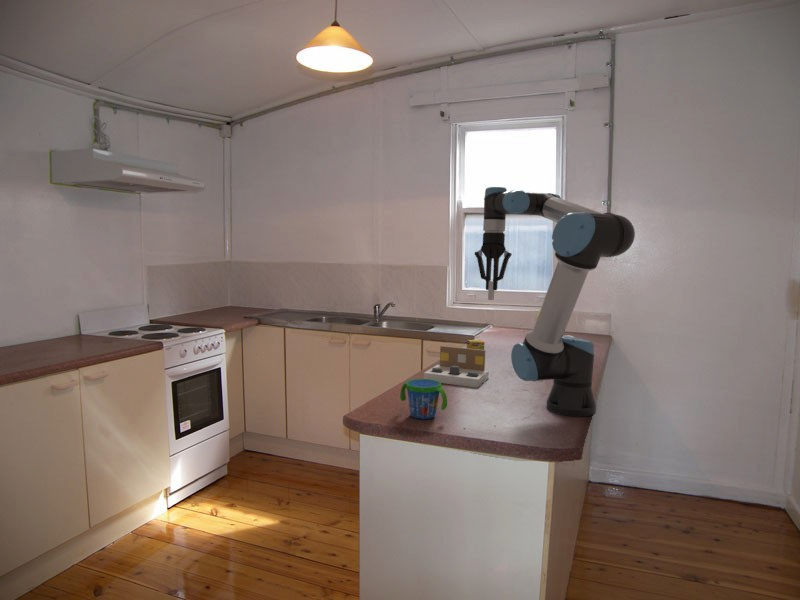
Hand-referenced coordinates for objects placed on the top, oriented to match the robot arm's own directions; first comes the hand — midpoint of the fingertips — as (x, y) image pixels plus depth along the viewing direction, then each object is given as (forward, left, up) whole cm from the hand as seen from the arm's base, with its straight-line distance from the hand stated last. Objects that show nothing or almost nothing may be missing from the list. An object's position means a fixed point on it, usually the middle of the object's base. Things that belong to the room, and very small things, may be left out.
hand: (490, 299), depth 195 cm
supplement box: (+36, +14, -33) cm, 51 cm away
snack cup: (-40, +10, -33) cm, 53 cm away
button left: (+6, +21, -32) cm, 39 cm away
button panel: (+9, +14, -32) cm, 36 cm away
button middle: (+6, +14, -30) cm, 34 cm away
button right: (+6, +7, -32) cm, 33 cm away
